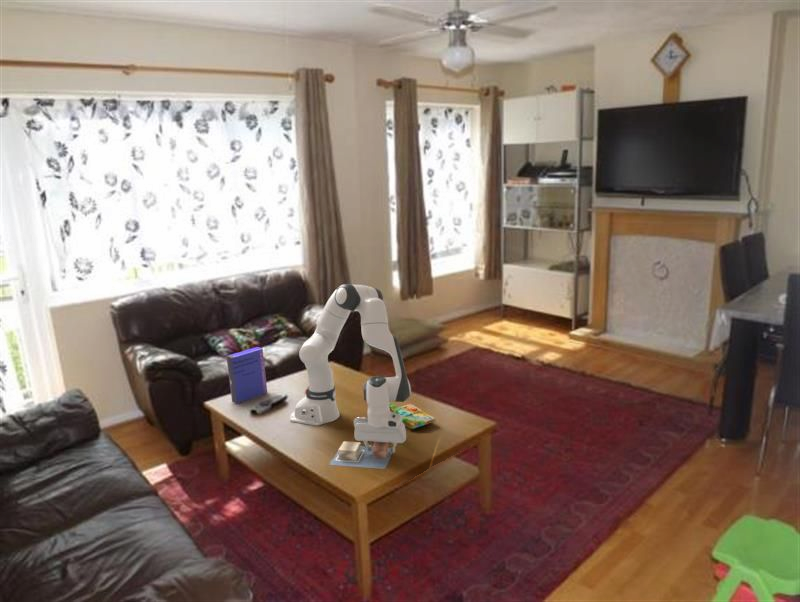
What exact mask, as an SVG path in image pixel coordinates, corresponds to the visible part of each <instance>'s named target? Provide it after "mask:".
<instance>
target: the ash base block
mask: <svg viewBox="0 0 800 602" xmlns="http://www.w3.org/2000/svg"><path fill="white" fill-rule="evenodd" d="M361 442H362V441H358V442H357V441H342V443H341V444H340V447H339V448H338V449H337V452H338V453H339V459H342V460H357V458H358V457H359V455H360V453H361V446H362V443H361Z"/></svg>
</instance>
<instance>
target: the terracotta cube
mask: <svg viewBox="0 0 800 602" xmlns="http://www.w3.org/2000/svg"><path fill="white" fill-rule="evenodd" d="M373 442H374V443H373V444H372V447H373V458H386V457H387V455H388V453H389V448H390V447H389V442H375V441H373Z"/></svg>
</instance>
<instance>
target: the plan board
mask: <svg viewBox="0 0 800 602" xmlns="http://www.w3.org/2000/svg"><path fill="white" fill-rule="evenodd" d="M390 448H391V447H389V453H388V455H387V457H386V458H373V446H372V450H371V451H367V447H366V445H361V453H360V455H359V457H358V458H357V460H342V459H339V453H338V451H337V452H336V453H335V455H334V456H333V458H332V459H331V460H330V463H329V464H328V465H329V466H338V467H339V466H341V467H354V468H369V469H379V470H380V469H381V470H385V469H386V468H387V467H388V463H389V461H390V460H391V457H392V455H393V452H391V450H390Z"/></svg>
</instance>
